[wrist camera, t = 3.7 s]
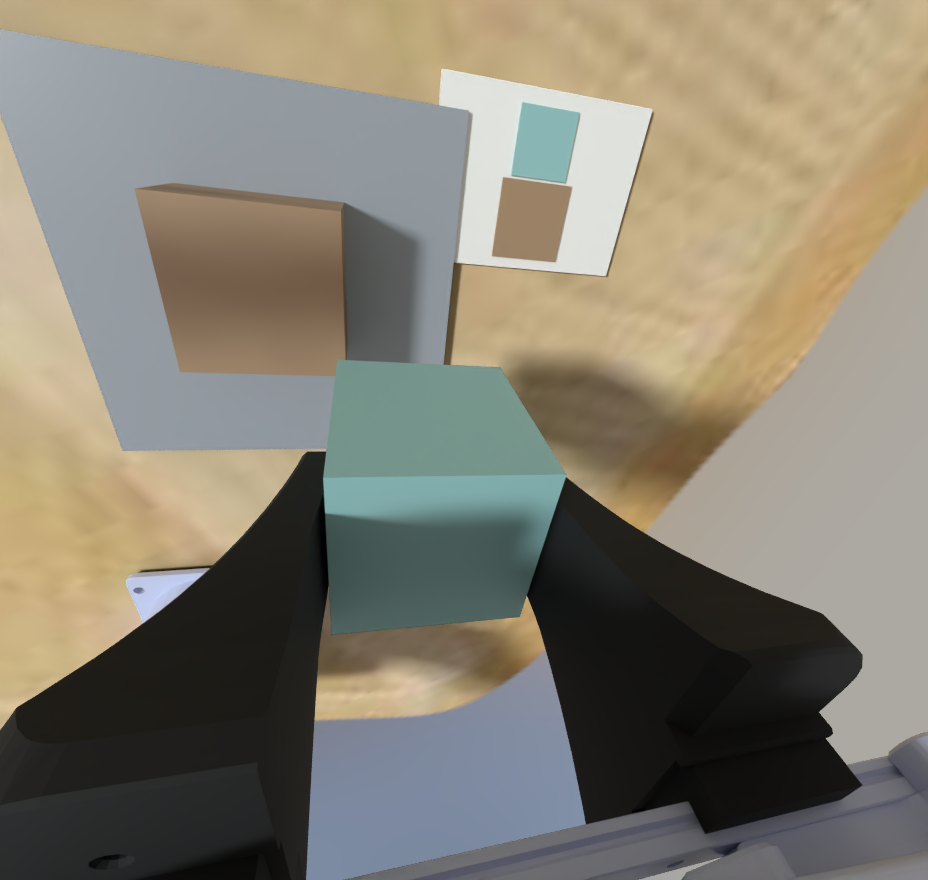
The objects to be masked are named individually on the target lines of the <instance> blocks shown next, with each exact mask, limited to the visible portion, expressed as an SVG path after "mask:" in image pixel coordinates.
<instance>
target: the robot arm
mask: <svg viewBox="0 0 928 880" xmlns="http://www.w3.org/2000/svg"><path fill="white" fill-rule="evenodd" d="M325 459H326V452H306V453H305V454H304V455H303V456H302V458H301V460H300V462H299V463H298V465H297V466H296V468H295V470H294V471H293V473H292V474H291V476H290V477H289V479H288V480H287V482H286V483H285V484H284V486H283V487H282V489H281V490H280V491H279V492H278V494H277V495H276V496H275V498H274V499H273V500H272V502H271V503H270V504H269V506H268V507H267V508H266V509H265V511H264V512H263V513H262V514H261V515H260V516H259V518H258V519H257V520H256V521H255V522H254V523H253V524H252V526H251V527H250V528H249V529H248V530H247V531H246V532H245V534H244V535H243V536H242V537H241V538H240V539H239V540H238V541H237V542H236V543H235V544H234V545H233V546H232V547H231V548H230V549H229V550H228V551H227V552H226V553H225V554H224V555H223V556H222V557H221V558H220V559H219V560H218V561H217V562H216V563H215V564H214V565H213V566H212V567H211V568H202V569H187V570H172V571H158V572H143V573H134V574H131V575H130V576H129V577H128V579H127V581H126V586H127V588H128V590H129V592H130V595H131V597H132V599H133V601H134V604H135V606H136V608H137V610H138V612H139V615H140V617H141V619H142V621H143V624H141V625H140V626H139V627H137V628H136V629H135V630H133V631H132V632H131V633H129V634H128V635H127V636H125V637H124V638H123V639H121V640H120V641H119V642H117V643H116V644H114V645H113V646H111V647H110V648H109V649H107V650H106V651H104V652H103V653H101V654H100V655H98V656H97V657H95V658H94V659H92V660H91V661H89V662H88V663H86V664H85V665H83V666H81V667H80V668H78V669H77V670H75V671H74V672H72V673H71V674H69V675H67V676H66V677H64V678H63V679H61V680H60V681H58V682H57V683H55V684H54V685H52V686H50V687H49V688H47V689H46V690H44V691H43V692H41V693H40V694H38V695H36V696H35V697H33V698H32V699H30V700H28V701H27V702H25V703H23V704H22V705H20V706H18V707H17V708H16V709H15V711H14V712H13V714H12V715H11V716H10V718H9V719H8V721H7V722H6V723H5V725H4V726H3V727H2V729H1V730H0V880H306V867H307V847H308V826H309V806H310V788H311V770H312V769H311V768H312V751H313V733H314V718H315V701H316V685H317V670H318V655H319V646H320V638H321V631H322V624H323V618H324V612H325V606H326V599H327V593H328V587H329V578H328V559H327V540H326V521H325V502H324V483H323V476H324V467H325ZM527 597H528V599H529V602H530V604H531V607H532V609H533V612H534V614H535V617H536V620H537V623H538V625H539V628H540V631H541V635H542V638H543V642H544V645H545V649H546V652H547V656H548V659H549V663H550V666H551V670H552V674H553V678H554V682H555V685H556V689H557V693H558V697H559V701H560V705H561V709H562V713H563V717H564V722H565V726H566V730H567V735H568V739H569V743H570V747H571V751H572V756H573V761H574V766H575V771H576V776H577V781H578V785H579V790H580V795H581V800H582V805H583V810H584V816H585V821H586V825H582V826H578V827H573V828H568V829H564V830H560V831H555V832H551V833H546V834H542V835H538V836H533V837H529V838H524V839H521V840H516V841H512V842H507V843H503V844H498V845H494V846H489V847H485V848H481V849H476V850H472V851H468V852H463V853H459V854H454V855H450V856H446V857H442V858H437V859H433V860H428V861H424V862H419V863H415V864H411V865H406V866H402V867H398V868H393V869H389V870H384V871H380V872H376V873H371V874H367V875H362V876H358V877H354V878H349V879H345V880H639V879H642V878H646V877H650V876H654V875H657V874H661V873H665V872H668V871H672V870H676V869H679V868H683V867H687V866H690V865H694V864H698V863H702V862H705V861H709V860H712V859H716V858H720V857H722V858H720V859H718V860H716V861H713V862H711V863H708V864H706V865H703V866H701V867H699V868H696V869H694V870H691V871H689V872H687V873H686V874H685V876H684V877H683V879H682V880H928V732H924V733H921V734H918V735H915V736H913V737H911V738H909V739H907V740H905V741H903V742H902V743H900V744H899V745H897V746H896V747H895V748H893V749H892V750H891V751H890V752H889V755H888V756H884V757H879V758H875V759H871V760H866V761H862V762H857V763H853V764H849V765H846V764H845V762H844V761H843V760H842V759H841V757H840V756H839V755H838V753H837V752H836V751H835V750H834V748H833V747H832V746H831V745H830V743H829V742H828V741H827V740H826V738H827V737H829V736H831V735H832V734H833V732H832V728H831V727H830V725H829V724H828V723H827V722H826V720H825V719H824V718H823V717H822V716H821V714H820V713H819V711H820V710H822V709H823V708H824V707H825V706H826V705H827V704H828V703H829V702H830V701H831V700H833V699H834V698H835V697H836V696H837V695H838V694H839V693H840V692H842V691H843V690H844V689H845V688H846V687H847V686H848V685H849V684H850V683H851V682H852V681H853V680H854V679H855V678H856V677H857V675H858V673H859V672H860V669H861V668H862V654H861V652H860V651H859V650H858V649H857V648H856V647H855V646H854V645H853V644H852V643H851V642H850V641H849V640H848V639H847V638H846V637H845V636H844V635H843V634H842V633H841V632H840V631H839V630H838V629H837V628H836V627H835V626H834V625H833V624H832V623H831V622H830V621H829V620H828V619H827V618H826V617H825V616H824V615H823V614H822V613H819V612H817V611H814V610H811V609H809V608H806V607H803V606H800V605H798V604H795V603H792V602H790V601H787V600H784V599H781V598H779V597H776V596H773V595H771V594H768V593H765V592H763V591H760V590H758V589H755V588H752V587H751V586H748V585H746V584H744V583H741V582H739V581H737V580H734V579H732V578H729V577H727V576H725V575H723V574H721V573H719V572H717V571H714V570H712V569H710V568H708V567H706V566H704V565H702V564H700V563H698V562H696V561H694V560H692V559H690V558H688V557H686V556H684V555H682V554H680V553H678V552H676V551H675V550H673V549H671V548H669V547H667V546H665V545H664V544H662V543H660V542H658V541H657V540H655V539H653V538H652V537H650V536H648V535H647V534H645V533H643V532H642V531H640V530H638V529H637V528H635V527H634V526H632V525H631V524H629V523H627V522H626V521H624V520H623V519H622V518H620V517H619V516H617V515H616V514H614V513H613V512H611V511H610V510H609V509H607V508H606V507H604V506H603V505H602V504H600V503H599V502H598V501H596V500H595V499H593V498H592V497H591V496H589V495H588V494H587V493H586V492H584V491H583V490H582V489H580V488H579V487H578V486H577V485H575V484H574V483H573V482H572V481H570V480H569V479H568V478H567V477H566V478H565V481H564V484H563V487H562V490H561V493H560V496H559V499H558V502H557V505H556V508H555V511H554V514H553V517H552V520H551V523H550V526H549V529H548V532H547V535H546V538H545V541H544V544H543V548H542V551H541V554H540V557H539V560H538V563H537V566H536V569H535V572H534V575H533V578H532V581H531V584H530V587H529V590H528V593H527Z"/></svg>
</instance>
